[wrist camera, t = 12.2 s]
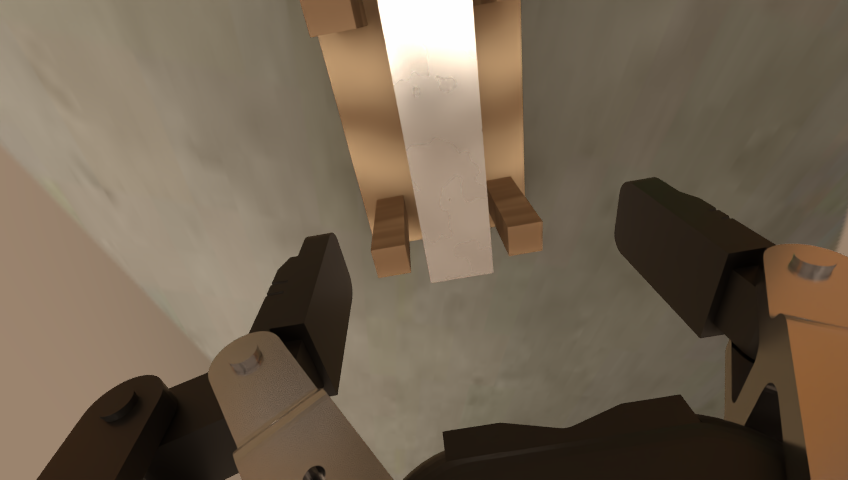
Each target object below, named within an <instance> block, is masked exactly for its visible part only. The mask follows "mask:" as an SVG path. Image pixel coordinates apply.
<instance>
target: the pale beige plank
mask: <svg viewBox="0 0 848 480" xmlns="http://www.w3.org/2000/svg"><path fill="white" fill-rule="evenodd" d="M377 1H378V7H379V12H380V17H381V22H382V28H383V33H384V38H385V43H386V49H387V54H388V59H389V64H390V70H391V75H392V80H393V85H394V91H395V96H396V101H397V106H398V112H399V117H400V122H401V127H402V133H403V138H404V143H405V148H406V154H407V159H408V164H409V169H410V175H411V180H412V185H413V190H414V196H415V201H416V206H417V211H418V217H419V222H420V227H421V232H422V238H423V243H424V248H425V253H426V259H427V264H428V269H429V274H430V280H431V283H435V282H441V281H447V280H453V279H459V278H465V277H471V276H477V275H483V274H489V273H493V261H492V248H491V235H490V222H489V209H488V196H487V184H486V171H485V158H484V145H483V132H482V119H481V106H480V93H479V80H478V67H477V54H476V41H475V28H474V15H473V2H472V0H377Z"/></svg>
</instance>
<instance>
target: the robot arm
mask: <svg viewBox="0 0 848 480" xmlns="http://www.w3.org/2000/svg"><path fill="white" fill-rule="evenodd" d="M615 242H616V245H617V248H618V250H619V251H620V253H621V254H622V255H623V256H624V257H625V258H626V259H627V260H628V261H629V263H630V264H631V265H632V266H633V267H634V268H635V269H636V270H637V271H638V272H639V273H640V274H641V275H642V277H643V278H644V279H645V280H646V281H647V282H648V283H649V284H650V285H651V286H652V287H653V288H654V289H655V290H656V292H657V293H658V294H659V295H660V296H661V297H662V298H663V299H664V300H665V301H666V302H667V303H668V304H669V305H670V307H671V308H672V309H673V310H674V311H675V312H676V313H677V314H678V315H679V316H680V317H681V318H682V319H683V320H684V322H685V323H686V324H687V325H688V326H689V327H690V328H691V329H692V330H693V331H694V332H695V333H696V334H697V336H698V337H699V338H704V337H711V336H717V335H723V334H725V335H726V336H727V337H728V338H729V341H728V344H727V346H726V350H725V412H724V420H723V419H720V418H716V417H710V416H705V415H699V414H695V413H694V412H693V411H692V409H691V408H690V407H689V405H688V404H687V403H686V401H685V400H684V399H683V397H682V396H681V395H674V396H668V397H661V398H655V399H649V400H642V401H636V402H629V403H623V404H620V405H617V406H615V407H613V408H611V409H609V410H607V411H604V412H602V413H600V414H598V415H596V416H594V417H591V418H589V419H587V420H585V421H583V422H581V423H578V424H576V425H574V426H572V427H569V428H552V427H541V426H530V425H519V424H509V423H495V424H489V425H482V426H476V427H470V428H463V429H457V430H450V431H444V432H443V440H444V449H445V450H444V451H442V452H440V453H438V454H436V455H434V456H432V457H431V458H429V459H427V460H426V461H424V462H423V463H421V464H420V465H419V466H417V467H416V468H415V469H414V470H413V471H411V472H410V473H409V474H408V475H407V476H406V477H405V478H404V479H403V480H848V257H847V256H844V255H842V254H840V253H837V252H835V251H832V250H828V249H825V248H821V247H817V246H812V245H805V244H780V245H775V244H774V243H772V242H770V241H769V240H767V239H765V238H764V237H762V236H761V235H759V234H757V233H756V232H754V231H752V230H751V229H749V228H748V227H746V226H744V225H743V224H741V223H739V222H738V221H736V220H734V219H733V218H732V219H730V218H729V216H728V215H726V214H725V213H723V212H721V211H720V210H716V208H715V207H713V206H712V205H710V204H708V203H707V202H705V201H703V200H702V199H700V198H698V197H694V196H691V195H688V194H685V193H682V192H679V191H678V190H676V189H674V188H673V187H671V186H670V185H668V184H667V183H665V182H663V181H662V180H660V179H659V178H656V177H652V178H647V179H641V180H635V181H629V182H625V183H624V184H623V185H622V187H621V189H620V194H619V202H618V209H617V217H616V224H615ZM351 303H352V284H351V279H350V275H349V272H348V269H347V266H346V263H345V260H344V257H343V255H342V252H341V249H340V246H339V243H338V240H337V238H336V236H335V234H334V233H327V234H321V235H316V236H310V237H306V238H305V240H304V242H303V245H302V247H301V250H300V252H299V255H298V256H296V257H290V258H289V259H288V260H287V261H286V262H285V263H284V264H283V265H282V266H281V267H280V268H279V269H278V271H277V273H276V275H275V277H274V280H273V282H272V285H271V286H270V288H269V291H268V293H267V297H265V299H264V302H263V304H262V306H261V308H260V310H259V312H258V315H257V317H256V319H255V321H254V323H253V326H252V328H251V330H250V332H249V334H247V335H244V336H242V337H240V338H238V339H236V340H234V341H233V342H231V343H230V344H228V345H227V346H226V347H225V348H223V349H222V350H221V351H220V352H219V353H218V355H217V356H216V357H215V358H214V360H213V361H212V363H211V365H210V367H209V371H208V373H206V374H204V375H201V376H199V377H196V378H194V379H191V380H189V381H186V382H184V383H181V384H179V385H177V386H174V387H172V388H169V389H168V387H167V386H166V385H165V384H164V383H163V381H162V380H161V379H160V378H159V377H157V376H154V375H144V376H139V377H135V378H132V379H130V380H127V381H125V382H123V383H121V384H119V385H117V386H116V387H114V388H112V389H111V390H109V391H108V392H106V393H105V394H104V395H103V396H101V397H100V398H99V399H98V400H97V401H95V402H94V403H93V404H92V406H90V407H89V408H88V410H87V411H86V412H85V413H84V415H83V416H82V417H81V419H80V420H79V421H78V423H77V424H76V426H75V427H74V428H73V430H72V431H71V433H70V434H69V435H68V437H67V438H66V439H65V441H64V442H63V444H62V445H61V446H60V448H59V449H58V451H57V452H56V453H55V455H54V456H53V458H52V459H51V460H50V462H49V463H48V464H47V466H46V467H45V469H44V470H43V471H42V473H41V474H40V476H39V477H38V478H37V480H225V479H227V478H229V477H231V476H233V475H235V474H237V473H239V474H240V476H241V479H242V480H393V478H392V477H391V476H390V474H389V473H388V472H387V470H386V469H385V468H384V467H383V465H382V464H381V463H380V461H379V460H378V459H377V458H376V456H375V455H374V454H373V452H372V451H371V450H370V448H369V447H368V446H367V445H366V443H365V442H364V441H363V439H362V438H361V437H360V435H359V434H358V433H357V432H356V430H355V429H354V428H353V426H352V425H351V424H350V423H349V421H348V420H347V419H346V417H345V416H344V415H343V413H342V412H341V411H340V410H339V408H338V407H337V406H336V404H335V403H334V402H333V401H332V399H331V398H330V397H329V396H335V395H338V388H339V381H340V375H341V368H342V362H343V355H344V349H345V342H346V335H347V329H348V322H349V316H350V309H351Z"/></svg>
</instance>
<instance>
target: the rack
mask: <svg viewBox="0 0 848 480" xmlns="http://www.w3.org/2000/svg"><path fill="white" fill-rule="evenodd" d="M472 2H473V15H474V28H475V41H476V54H477V67H478V80H479V93H480V106H481V119H482V132H483V145H484V158H485V171H486V184H487V196H488V209H489V222H490V227H496V229H497V231H498V233H499V235H500V237H501V239H502V242H503V244H504V246H505V248H506V250H507V252H508V254H509V256H512V255H518V254H524V253H530V252H536V251H542V224H543V221H542V220H541V219H540V217H539V216H538V214H537V213H536V212H535V210H534V209H533V207H532V206H531V205H530V203H529V202H528V200H527V199H526V197H525V192H524V144H523V96H522V48H521V0H472ZM300 3H301V6H302V10H303V13H304V17H305V20H306V24H307V28H308V31H309V35H310V37H315V36H318V37H319V41H320V45H321V48H322V52H323V56H324V59H325V63H326V67H327V70H328V74H329V78H330V81H331V85H332V89H333V92H334V96H335V100H336V103H337V107H338V111H339V114H340V118H341V121H342V125H343V129H344V132H345V136H346V140H347V143H348V147H349V151H350V154H351V158H352V162H353V165H354V169H355V173H356V176H357V180H358V184H359V187H360V191H361V195H362V198H363V202H364V206H365V209H366V213H367V216H368V220H369V224H370V227H371V231H372V235H373V237H372V245H371V253H372V257H373V260H374V264H375V267H376V271H377V274H378V278H381V277H387V276H393V275H399V274H405V273H411V264H410V244H409V241H413V240H419V239H423V238H422V232H421V227H420V222H419V217H418V211H417V206H416V201H415V196H414V190H413V185H412V180H411V175H410V169H409V164H408V159H407V154H406V148H405V143H404V138H403V133H402V127H401V122H400V117H399V112H398V106H397V101H396V96H395V91H394V85H393V80H392V75H391V70H390V64H389V59H388V54H387V49H386V43H385V38H384V33H383V28H382V22H381V17H380V12H379V7H378V1H377V0H300Z"/></svg>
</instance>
